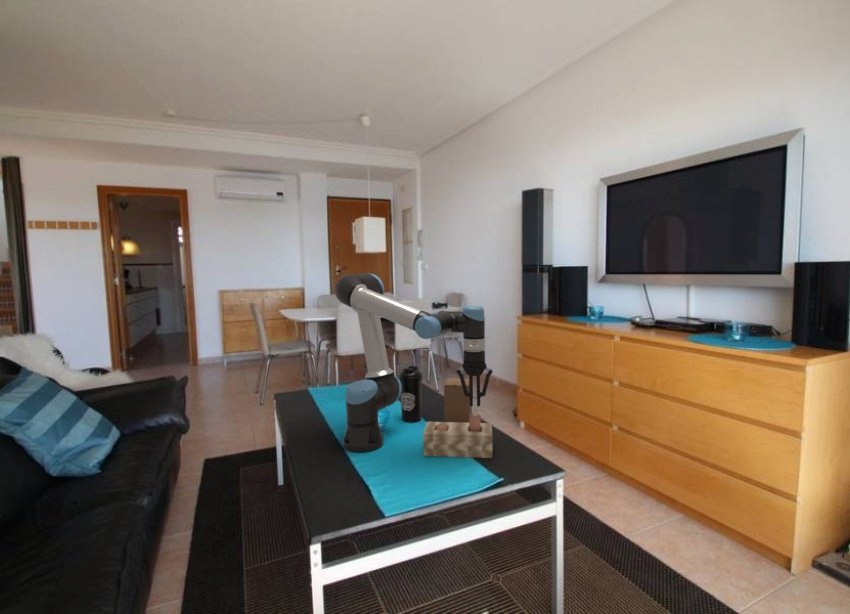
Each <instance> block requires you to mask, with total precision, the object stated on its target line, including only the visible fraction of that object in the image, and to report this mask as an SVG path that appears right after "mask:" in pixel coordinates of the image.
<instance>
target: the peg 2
mask: <svg viewBox="0 0 850 614" xmlns="http://www.w3.org/2000/svg"><path fill="white" fill-rule="evenodd" d="M481 420H482V419H481V414H479V413H477V416H473V413H472V414H470V415H469V431H476V432H481V423H482V421H481Z"/></svg>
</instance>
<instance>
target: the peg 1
mask: <svg viewBox="0 0 850 614" xmlns="http://www.w3.org/2000/svg"><path fill="white" fill-rule="evenodd" d="M436 430H440V431H447V425H445V424H438V425H436Z"/></svg>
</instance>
